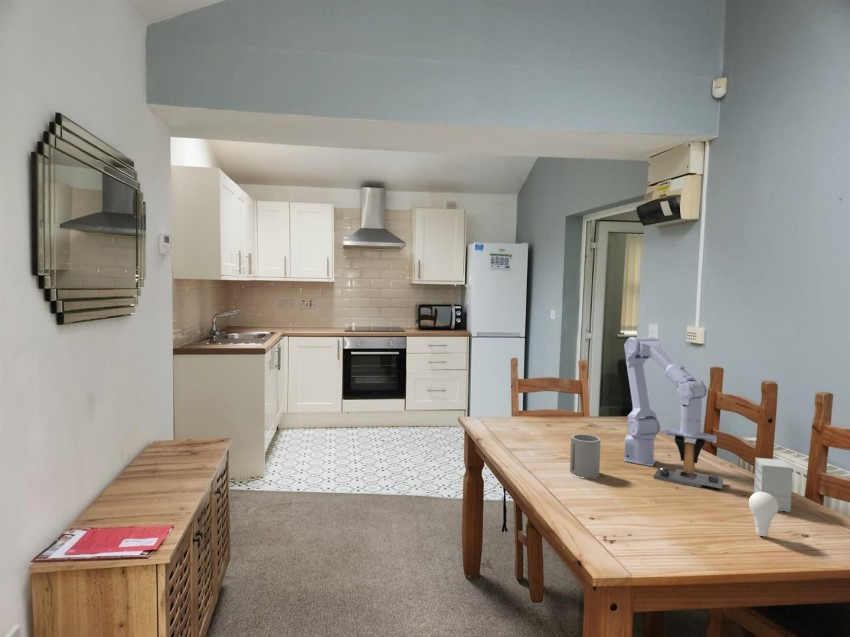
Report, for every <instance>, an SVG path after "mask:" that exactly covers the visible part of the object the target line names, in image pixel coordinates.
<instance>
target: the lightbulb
mask: <svg viewBox="0 0 850 637" xmlns="http://www.w3.org/2000/svg"><path fill="white" fill-rule="evenodd" d="M748 499H749V500H748V506H749V509H750V511H751V512H752V515H753V518H754V525H755V533H756V534H757V535H759V536H758V537H760V536H763V537H762V538H765V537H767V536H768V535H769V531H770V530H769V529H770V527H771V523H772V521H773V519H774V517H775V516H776V515H777V513H778V512H779V511H778V503H777V501H776V499H775V498H774V497H773V496H772V495H770V494H768V493H766V492H756V493H754V492H753V493H752V494H751V495H750V497H749V498H748Z"/></svg>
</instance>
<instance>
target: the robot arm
mask: <svg viewBox="0 0 850 637" xmlns="http://www.w3.org/2000/svg"><path fill="white" fill-rule="evenodd" d="M623 347H624V353H625V364H626V369H627V377H628V383H629V390H630V396H631V403H632V410H631V411H630V412H629V414H627V431H628V433H629V434H626V436H625V439H624V451H623V452H624V456H623V457H624V458H623V461H624V462H626V463H631V462H632V463H633V464H637V465H638V464H639V465H643V466H649V467H653V466H654V465H655V463H656V462H657V459H656V458H654V457H655V456H654V455H655V438H657V435H658V434H659V433H660V431H661V424H660V422H659V420H658V417H657V414H656V412H654V411H653V410H652V409H651V408H650V401H649V396H648V388H647V382H646V376H645V375H646V374H645V370H644V369H645V368H644V364H645V363H646V361H647V360H649V359H652V360H653V361H654V362H656V363H657V364H658V365H659V366H660V367H662V369H663V370H664V371H665V377H666V378H667V379H669V381H670V382H671V383H672V384H673V385H674V386H675V388H676V391H677V394H678V396H679V402H680V429H678V428H664V436H671V437H674V442H675V444H676V446H677V449H678V452H679V456H680V461H681V462H683V461H684V443H685V442H686V441H685V440H686V439H691V440H695V441H694V442H695V443H694V444H695V458H694V463H695V464H697V463H698V462H699V461H698V460H699V455H700V454H701V453H700V452H701V451H702V449H703V447H704V445H705V443H706V442H710V443H715V444H716V443H717V439H718V438H717V435H715V434H712V433H711V434H710V433H706V432H701V431H702V430H701V429H702V410H703V409H702V404H703V399H704V398H705V397H706V396H707V393H708V391H707V390H708V389H707V386H706V384H705V383H704V381H703V380H701V379H696V378H695V377H694V376H693V375H691V374H690V373H689V372H688V371H687V370H686V369H685V366H684V365H682V364H679V363H675V362H674V361H673V360H672V359H671V358H670V357H669V356H668V354H667V353H666V352H665V351H664V350H663V348H662V347H661V342H659V341H658V339H657V338H656V337H655V336H643V337H642V336H639V337H635V336H630V337H628V339H627V340H626V341H625V343H624V345H623ZM632 463H631V464H632Z"/></svg>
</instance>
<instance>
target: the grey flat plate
mask: <svg viewBox="0 0 850 637" xmlns="http://www.w3.org/2000/svg"><path fill="white" fill-rule="evenodd" d="M653 479H655V480H659V481H664V482H668V483H675V484H680V485H686V486H691V487H695V488H699V487H700V489H701V488H702V486H707V487H710V488H714V489H717V488H718V489H722V488H723V485H724V477H722V476H717V475H711V474H706V473H700V472H695V471H694V473H686V472H684V471H683V469H678V468H676V469H675V471H673V470H670V467H667V466H659V468H657V470H656V471H655V473H654V475H653Z"/></svg>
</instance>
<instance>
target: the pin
mask: <svg viewBox="0 0 850 637" xmlns="http://www.w3.org/2000/svg"><path fill="white" fill-rule="evenodd" d="M694 458H695V443H694V442H689V441H685V443H684V460H683V461H682V462H683V465H682V470H683V471H684V472H686V473H694V472H695V470H696V469H695V467H696V466H695V465H696V463H694Z"/></svg>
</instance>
